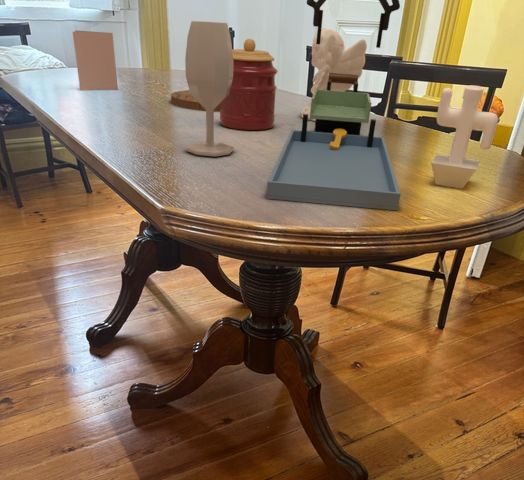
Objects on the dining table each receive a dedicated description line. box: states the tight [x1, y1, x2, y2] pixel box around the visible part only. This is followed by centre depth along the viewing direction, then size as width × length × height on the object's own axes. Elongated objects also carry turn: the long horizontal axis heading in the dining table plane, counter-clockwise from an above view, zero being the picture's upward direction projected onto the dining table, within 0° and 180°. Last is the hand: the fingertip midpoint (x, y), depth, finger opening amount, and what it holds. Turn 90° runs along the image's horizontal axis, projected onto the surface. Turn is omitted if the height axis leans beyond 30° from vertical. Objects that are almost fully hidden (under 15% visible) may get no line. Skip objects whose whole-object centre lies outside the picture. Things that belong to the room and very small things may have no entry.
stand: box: [301, 114, 377, 148], centre depth 111 cm, size 14×15×6 cm
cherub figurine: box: [300, 27, 368, 122], centre depth 130 cm, size 13×12×20 cm
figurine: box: [430, 84, 499, 190], centre depth 84 cm, size 7×9×15 cm
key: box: [329, 128, 347, 150], centre depth 104 cm, size 7×3×1 cm, turn 166°
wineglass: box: [184, 20, 234, 158], centre depth 92 cm, size 9×9×21 cm
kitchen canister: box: [219, 38, 278, 131], centre depth 117 cm, size 13×13×18 cm
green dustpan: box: [310, 73, 372, 124], centre depth 113 cm, size 24×12×6 cm, turn 172°
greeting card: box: [72, 29, 119, 91], centre depth 153 cm, size 11×7×15 cm, turn 84°
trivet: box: [170, 89, 221, 112], centre depth 145 cm, size 25×25×2 cm
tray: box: [266, 129, 402, 211], centre depth 91 cm, size 40×19×2 cm, turn 172°
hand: (347, 46), depth 117 cm, fingers open, 13 cm apart
